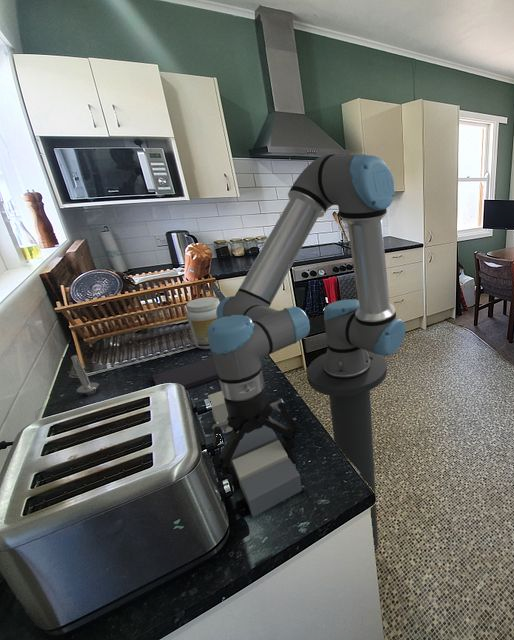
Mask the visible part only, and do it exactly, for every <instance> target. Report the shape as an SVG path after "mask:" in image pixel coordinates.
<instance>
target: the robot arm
mask: <svg viewBox="0 0 514 640" xmlns="http://www.w3.org/2000/svg"><path fill="white" fill-rule="evenodd" d="M395 191H396V187H395V180H394V176H393V173H392V170H391V169H390V167H389V166H388V164H386V162H385V161H384V160H383V159H382V158H380V157H379V156H376V155H371V154H370V155H369V154H364V153H363V154H362V153H358V154H324V155H322V156H318V157H317V158H316V159H314V160H313V161H311V162H310V163H309V164H308V165H307V166H306V167H305V168H304V169H303V170H302V172H301V173H300V174H299V175H298V177H297V178H296V180H295V181H294V183H293V184H292V186H291V188H289V190H288V192H287V197H288V202H287V204H286V206H284V209H283V211H282V212H281V214H280V216H279V218H278V220H277V221H276V223H275V224H274V226H273V228H272V230H271V231H270V234H269V235H268V237H267V239H266V240H265V242H264V244H263V246H262V247H261V249H260V251H259V253H258V254H257V256H256V258H255V260H254V261H253V263H252V264H251V267H250V269H249V270H248V272H247V274H246V275H245V277H244V279H243V281H242V283H241V284H240V286H239V288H238V289H237V291H236V293H235V295H233V296H232V295H231V296H226V297H225V298H224V299H223V300H221V301H219V302H220V303H219V305H218V307H217V310H216V315H217V320H215V321H213V322H212V323H211V324H210V325H209V327H208V339H209V344H210V349H209V350H210V352H211V354H212V358H213V359H214V362H215V365H216V369H217V372H218V377H219V378H218V382H219V385H220V390H221V389H222V390H221V391H222V393H223V396H224V401H225V404H226V408H227V412H228V418H227V420H226V421H223V422H221V423H218V422H215V421H213V422H212V423H211V428H212V432H213V433H212V437H213V436H214V435H215V437H213V438H211V443H213V444H214V447H216V446H217V445H218V444H219V443H220V441H221V442H222V443H223V442H224V441H223V440H224V435H225V434H226V433H225V431H226V428H227V427H231V428H233V429H232V431H231V433H230V436H229V437H228V439H227V440H226V441H227V443H226V445H225V444H224V447H223V450H222V446H221V447H220V450H219V453H218V454H217V455H215V456H212V458H211V459H212V462H213V464H214V467H215V469H216V470H219V469H220V470H221V474H222V477H223V476H224V475H226V474H230V475H232V478H233V481H232V482H231V484H232V487H233V490H234V491H237V490H239V486H238V483H237V477H236V473H235V471H234V469H233V466H232V464H231V461H230V460H231V458H232V456H233V454H234V452H235V450H236V448H237V446H238V444H239V442H240V440H242V439H243V436H244V434H246V433H250V432H252V431H253V430H256V429H260V428H262V427H263V426H267V427H268V428H271V429H272V430H273V431H274V432H276V433H278V434H279V435H281V438H282V439H281V440H282V445H283V448H284V450H285V452H286V453H287V455H288V458H290V460H291V462H292V463H294V459H293V454H292V449H294V448H296V447H295V446H296V445H295V439H296V437H295V435H296V434H300V433H301V432H302V429H301V427H300V426H299V425H298V423H297V422H296V420H295V419H294V418H293V417H292V416H291V414H290V413H289V412H288V410H287V404H286V403H285V401H284V400H283V399H282V398H281V397H278V398H277V399H276V400H275V401H273V402H271V403H270V402H269V398H268V393H267V388H266V386H265V385H266V383H265V379H264V375H263V374H264V373H263V369H262V363H261V359H263V358H265V357H267V356H269V355H271V354H274V353H276V352H278V351H280V350H283V349H285V348H287V347H290V346H292V345H294V344H297V342H299V341H301V340H303V339H305V338H307V336H308V335H309V334H310V332H311V325H310V320H309V317H308V315H307V314H306V312H305V311H304V310H303V309H302V308H300V307H298V306H291V307H285V308H283V309H280V310H278V309H275V308H272V307H271V305H272V303H273V301H274V299H275V298H276V295H277V294H278V292H279V290H280V288H281V286H282V285H283V283H284V280H285V279H286V278H287V275H288V273H289V271H290V270H291V268H292V266H293V264H294V262H295V260H296V259H297V257H298V255H299V253H300V252H301V250H302V248H303V246H304V244H305V242H306V240H307V239H308V237H309V235H310V233H311V231H312V229H313V228H314V226H315V224H316V222H317V220H318V218H322V217H324V216H325V215H326V213H327V211H328V210H329V209H330V208H331V207H332V206H337V208H338V214H339V218H340V219H341V220H343V221H344V222H345V223H346V225H347V231H348V238H349V246H350V251H351V259H352V265H353V271H354V273H353V274H354V279H355V286H356V293H357V299H353V298H351V299H350V298H349V299H341V300H336V301H333V302H331V303H329V304H327V305H326V306H325V307H324V309H323V316H324V317H323V323H324V328H325V329H324V330H325V338H326V345H327V349H326V352H325V353H326V357H325V361H324V371H325V373H326V374H327V375H328V376H330V377H332V378H335V379H352V378H356V377H359V376H361V375H363V374H365V373H366V372H367V371H368V370H369V369H370V366H371V364H370V359H373V358H372V357H370V356H369V355H368V353H367V351H369V352H372V353H375V354H376V355H378V354H379V355H381V356H383V357H389V356H393V354H394V353H396V352H397V351H398V350H399V348H400V347H401V345H402V343H403V341H404V339H405V335H406V323H405V322H404V321H403V320H402V319H401V318H397V311H396V307H395V306H394V304H392V303H391V301H390V293H389V292H390V291H389V283H388V272H387V263H386V252H385V243H384V241H385V240H384V234H383V233H384V232H383V223H382V222H383V219H384V218H385V217H386V216H387V214H388V211H387V209H389V207H390V206H391V205H392V203H393V200H394V199H393V197H395ZM366 350H367V351H366ZM273 410H275V412H278V413H280V414H281V416H282V417H283V418H284V419H285V421H286V422H287V423H288V425H289V426H290V428H288V427H287V426H285V425H284V424H282V423H280V422H279V421H277V420H276V419H274V418H273V417H271V414H272V412H273ZM216 434H218V435H216ZM219 434H221V436H222V438H221V436H220V435H219ZM216 436H217V437H216ZM220 439H221V440H220ZM221 450H222V452H221Z"/></svg>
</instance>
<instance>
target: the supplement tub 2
mask: <svg viewBox="0 0 514 640" xmlns="http://www.w3.org/2000/svg"><path fill="white" fill-rule="evenodd" d="M220 302H221V301H220V298H219V297H214V296H213V297H211V296H210V297H208V296H206V297H199V298H196V299H192V300H190V301H188V302H187V303H186V310H187V311H186V315H185V316H186V320H187V322H188V323H187V324H188V325H189V329H190V332H191V336H192V340H193V343H194V346H195V347H197V348H198V349H201V350H210V344H209V339H208V327H209V325H210V324H211V323H212V322H213V321H215V320H217V315H216V310H217V307H218V305H219V303H220Z"/></svg>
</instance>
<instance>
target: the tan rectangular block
mask: <svg viewBox="0 0 514 640" xmlns="http://www.w3.org/2000/svg"><path fill="white" fill-rule="evenodd" d="M286 459H288V455H287V453H286V452H285V449H284V445H283V444H282V443H281V441H280V440H279V439H278V440H277V441H275V442H273V443H271V444H268V445H266V446H264V447H262V448H259V449H257V450H255V451H252V452H250V453H248V454H246V455H243V456H241V457H239V458H237V459H234V460H232V463H233V466H234V469H233V471H234V470H235V471H234V474H235V477H236V480H237V481H238V484H239V487H240V489H241V491H242V493H243V489H242V486H241V482H240V481H242V480H244V479H246V478H248V477H251V476H253V475H255V474H257V473H259V472H261V471H263V470H265V469H267V468H269V467H271V466H273V465H276V464H278V463H280V462H282V461H284V460H286ZM233 466H232V467H233Z"/></svg>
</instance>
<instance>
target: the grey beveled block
mask: <svg viewBox="0 0 514 640" xmlns="http://www.w3.org/2000/svg"><path fill="white" fill-rule="evenodd" d="M240 482H241V486H242V489H243V492H242V493H243V496H244V500H245V501H246V504H247V506H248V510H249V512H250V514H251V517H252V518H255V517H256V516H258V515H259V514H261V513H263V512H265V511H267V510H269V509H271V508H273V507H274V506H276V505H278V504H280V503H281V502H283V501H285V500H288V499H289V498H292V496H294V495H296V494H298V493H300V492H303V486H302V481H301V475H300V473H299V471H298V469H297V468H296V467H295V465H294V462H291V460H290V458H288V459H286V460H284V461H282V462H280V463H278V464H276V465H273V466H271V467H269V468H267V469H265V470H263V471H261V472H259V473H257V474H255V475H253V476H251V477H248V478H246V479H244V480H242V481H240ZM242 489H241V490H242Z"/></svg>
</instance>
